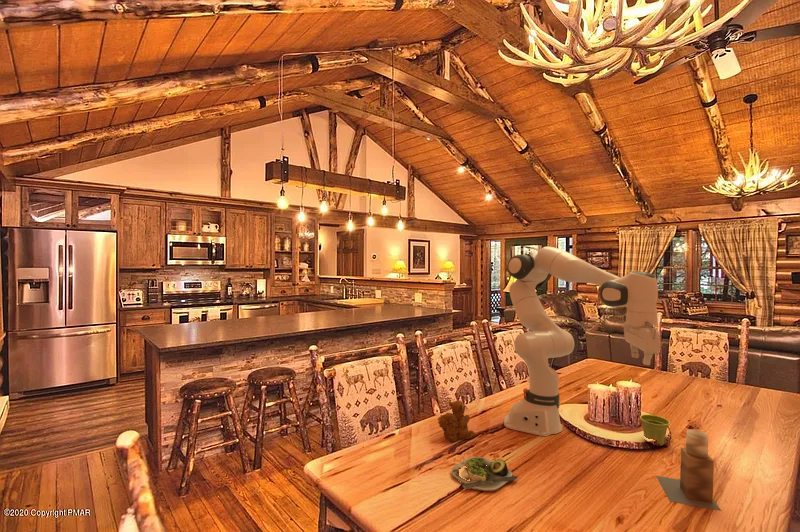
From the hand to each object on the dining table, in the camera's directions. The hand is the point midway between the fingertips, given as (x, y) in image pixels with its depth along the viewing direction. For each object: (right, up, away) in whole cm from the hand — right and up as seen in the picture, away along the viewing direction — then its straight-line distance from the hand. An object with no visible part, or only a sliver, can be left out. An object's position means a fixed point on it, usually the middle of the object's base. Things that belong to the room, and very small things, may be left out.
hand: (640, 361), depth 134 cm
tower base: (+5, -34, -19) cm, 39 cm away
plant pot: (+14, -34, +15) cm, 40 cm away
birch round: (+5, -22, -19) cm, 29 cm away
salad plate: (-55, -34, -9) cm, 65 cm away
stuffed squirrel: (-60, -33, +18) cm, 71 cm away
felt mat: (+3, -35, -17) cm, 39 cm away
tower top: (+5, -28, -19) cm, 34 cm away
